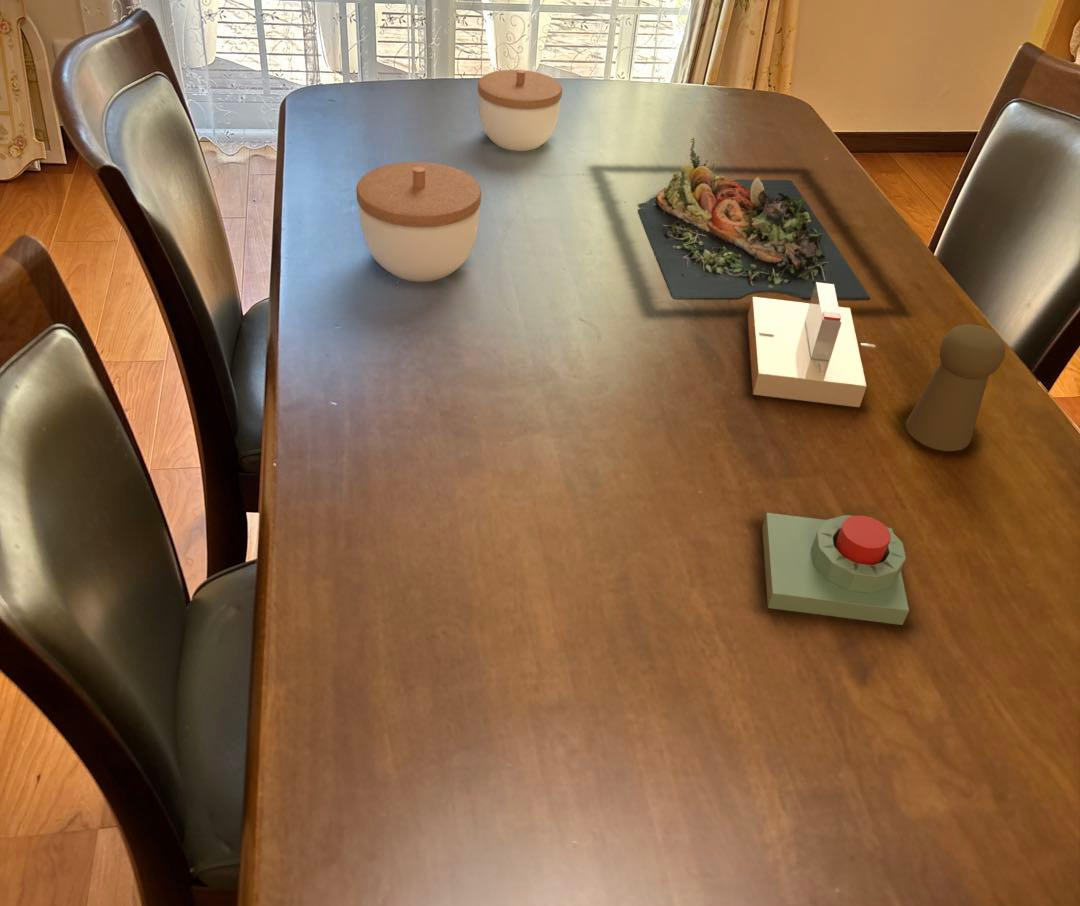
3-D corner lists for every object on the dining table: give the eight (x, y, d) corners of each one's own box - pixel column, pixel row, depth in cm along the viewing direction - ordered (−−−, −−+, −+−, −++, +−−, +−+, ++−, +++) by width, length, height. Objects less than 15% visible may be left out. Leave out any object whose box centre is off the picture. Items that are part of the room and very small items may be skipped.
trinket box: (512, 169, 130) (516, 93, 123) (460, 139, 135) (460, 65, 128) (574, 149, 135) (580, 76, 129) (521, 122, 140) (525, 50, 134)
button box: (884, 547, 83) (899, 511, 80) (900, 630, 76) (917, 593, 73) (760, 532, 83) (771, 495, 80) (765, 613, 76) (778, 576, 74)
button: (880, 535, 78) (887, 518, 77) (886, 568, 76) (894, 551, 74) (833, 529, 78) (839, 512, 77) (838, 561, 76) (844, 545, 74)
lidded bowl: (338, 259, 110) (331, 159, 103) (435, 230, 116) (435, 134, 109) (403, 311, 103) (400, 208, 96) (502, 278, 110) (507, 178, 102)
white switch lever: (805, 319, 102) (816, 279, 99) (823, 321, 102) (835, 281, 99) (810, 358, 97) (822, 317, 94) (829, 360, 97) (842, 319, 93)
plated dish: (591, 173, 130) (598, 116, 125) (799, 177, 135) (814, 121, 129) (650, 324, 105) (662, 260, 100) (904, 323, 110) (927, 261, 105)
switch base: (857, 334, 106) (866, 308, 104) (874, 414, 96) (885, 387, 94) (746, 321, 106) (752, 294, 104) (751, 399, 96) (758, 371, 94)
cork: (962, 420, 96) (1006, 318, 89) (975, 460, 92) (1024, 357, 84) (897, 413, 96) (937, 311, 89) (908, 453, 92) (950, 349, 84)
